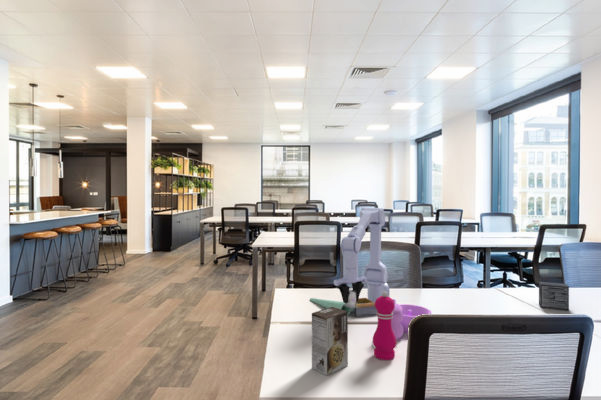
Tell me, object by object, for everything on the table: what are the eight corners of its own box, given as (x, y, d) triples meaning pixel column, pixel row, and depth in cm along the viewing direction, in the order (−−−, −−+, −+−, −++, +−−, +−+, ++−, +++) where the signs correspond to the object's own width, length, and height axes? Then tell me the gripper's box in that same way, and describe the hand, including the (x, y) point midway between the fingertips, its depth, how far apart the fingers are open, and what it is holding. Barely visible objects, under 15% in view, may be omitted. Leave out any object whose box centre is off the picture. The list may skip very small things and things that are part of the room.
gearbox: (369, 307, 168) (369, 296, 168) (381, 314, 158) (381, 302, 158) (345, 309, 164) (346, 298, 164) (356, 316, 155) (356, 305, 155)
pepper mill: (369, 351, 121) (370, 288, 121) (391, 350, 122) (392, 288, 122) (376, 361, 114) (376, 294, 114) (399, 360, 115) (400, 294, 114)
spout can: (353, 303, 153) (353, 285, 153) (358, 307, 149) (358, 287, 149) (343, 304, 152) (343, 285, 152) (347, 308, 148) (347, 288, 148)
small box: (566, 306, 169) (566, 283, 169) (569, 311, 163) (569, 286, 163) (538, 303, 174) (538, 281, 174) (540, 307, 168) (540, 284, 168)
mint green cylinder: (315, 288, 181) (351, 302, 158) (315, 299, 181) (351, 315, 158) (305, 289, 178) (340, 304, 155) (305, 301, 178) (340, 317, 155)
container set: (400, 317, 154) (400, 285, 154) (437, 326, 144) (437, 291, 144) (367, 335, 136) (367, 298, 135) (407, 346, 126) (408, 306, 125)
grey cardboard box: (332, 358, 116) (332, 306, 116) (348, 365, 111) (348, 310, 111) (310, 368, 110) (310, 312, 109) (327, 376, 105) (327, 317, 105)
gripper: (359, 264, 157) (359, 296, 158) (329, 267, 150) (329, 301, 151) (370, 267, 151) (370, 301, 151) (339, 270, 144) (339, 306, 145)
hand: (350, 301), depth 151 cm, fingers closed on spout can, 4 cm apart
